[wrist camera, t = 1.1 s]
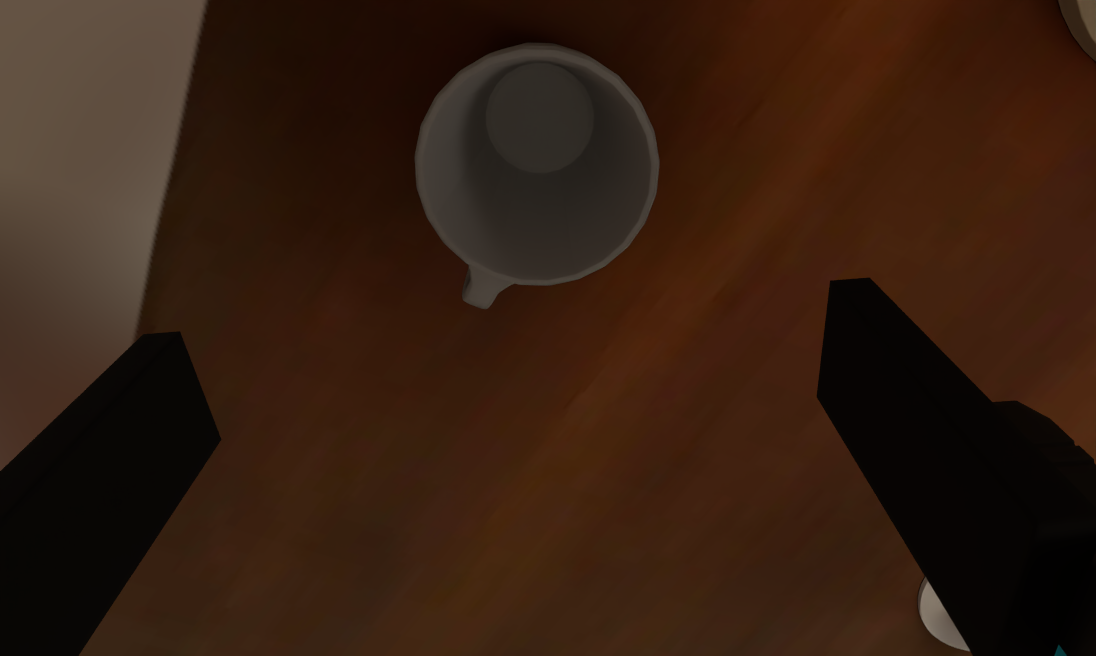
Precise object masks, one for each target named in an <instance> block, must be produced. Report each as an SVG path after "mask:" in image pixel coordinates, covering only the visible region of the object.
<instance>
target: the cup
mask: <svg viewBox="0 0 1096 656" xmlns="http://www.w3.org/2000/svg"><path fill="white" fill-rule="evenodd" d="M659 163H660V162H659V156H658V150H657V144H656V138H655V132H654V129H653V127H652V125H651V123H650V121H649V119H648V116H647V114H646V112H645V110H644V108H643V106H642V104H641V101H640V100H639V99H638V98H637V97H636V95H635V94H634V93H633V92H632V91H631V90H630V88H629V87H628V86H627V85H626V84H625V83H624V81H623V80H622V79H621V78H620V77H619V76H618V75H617V74H615V73H614V72H612V71H611V70H609V69H608V68H606V67H605V66H603V65H602V64H600V63H599V62H597V61H596V60H594V59H593V58H591V57H590V56H587V55H585V54H583V53H581V52H579V51H576V50H573V49H570V48H567V47H564V46H561V45H558V44H554V43H524V44H520V45H516V46H512V47H508V48H505V49H501V50H498V51H495V52H492V53H490V54H487V55H486V56H484V57H482V58H481V59H479V60H477V61H476V62H474V63H472V64H471V65H469V66H467V67H465V68H464V69H462V70H460V71H459V72H458V73H457V74H456V75H455V76H454V77H453V78H452V79H451V80H450V81H449V82H448V84H447V85H446V86H445V87H444V88H443V89H442V90H441V91H440V92H439V93H438V94H437V95H436V97H435V99H434V101H433V103H432V105H431V106H430V108H429V110H428V112H427V114H426V116H425V118H424V120H423V122H422V124H421V127H420V132H419V137H418V142H417V147H416V152H415V171H416V186H417V190H418V193H419V196H420V199H421V202H422V205H423V208H424V211H425V214H426V217H427V218H428V220H429V221H430V223H431V225H432V226H433V228H434V229H435V231H436V232H437V234H438V235H439V237H440V238H441V240H442V241H443V243H444V244H446V245H447V246H448V247H449V248H450V249H451V250H452V251H453V252H454V253H455V254H456V255H458V256H459V257H460V258H461V259H462V260H463V261H464V262H465V263H467V264H468V265H469V269H468V272H467V275H466V279H465V282H464V286H463V291H462V298H463V300H464V301H465V302H467V303H469V304H471V305H474V306H476V307H479V308H483V309H487V308H489V306H490V305H491V304H492V303H493V301H494V299H495V298H496V296H497V294H498V293H499V292H501V291H502V290H504V289H505V288H507V287H508V286H510V285H512V284H514V283H516V284H520V285H554V284H558V283H563V282H568V281H572V280H577V279H580V278H582V277H584V276H586V275H588V274H590V273H592V272H594V271H596V270H598V269H600V268H602V267H604V266H606V265H607V264H608V263H609V262H611V261H612V260H613V259H614V258H615V257H617V256H618V255H619V254H620V253H621V252H622V251H624V250H625V249H626V248H627V247H628V246H629V245H630V243H631V242H632V240H633V239H634V238H635V236H636V235H637V233H638V232H639V231H640V229H641V228H642V227H643V225H644V224H645V222H646V220H647V217H648V214H649V212H650V209H651V206H652V204H653V201H654V199H655V196H656V192H657V183H658V173H659Z"/></svg>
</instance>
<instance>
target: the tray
mask: <svg viewBox="0 0 1096 656" xmlns="http://www.w3.org/2000/svg"><path fill="white" fill-rule="evenodd" d="M1058 2H1059V5H1060V9H1061V12H1062V15H1063V17H1064V19H1065V21H1066V23H1067V26H1068V28H1069V30H1070V32H1071V34H1072V35H1073V37H1074V38H1075V39H1076V41H1077V42H1078V43H1079V45H1080V46H1081V47H1082V49H1083V50H1084V51H1085V52H1086V53H1087V54H1088V55H1089V56H1090V57H1091V58H1092V59H1093V60H1095V61H1096V0H1058Z"/></svg>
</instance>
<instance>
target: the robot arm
mask: <svg viewBox="0 0 1096 656" xmlns="http://www.w3.org/2000/svg"><path fill="white" fill-rule="evenodd" d="M817 398H818V400H819V401H820V403H821V405H822V406H823V408H824V410H825V411H826V413H827V415H828V416H829V418H830V420H831V421H832V423H833V425H834V426H835V428H836V430H837V431H838V433H839V435H840V436H841V438H842V440H843V441H844V443H845V445H846V446H847V448H848V449H849V451H850V453H851V454H852V456H853V458H854V459H855V461H856V463H857V464H858V466H859V468H860V469H861V471H862V473H863V474H864V476H865V478H866V479H867V481H868V483H869V484H870V486H871V488H872V489H873V491H874V492H875V494H876V496H877V497H878V499H879V501H880V502H881V504H882V506H883V507H884V509H885V511H886V512H887V514H888V516H889V517H890V519H891V521H892V522H893V524H894V526H895V527H896V529H897V531H898V532H899V534H900V536H901V537H902V539H903V540H904V542H905V544H906V545H907V547H908V549H909V550H910V552H911V554H912V555H913V557H914V559H915V560H916V562H917V564H918V565H919V567H920V569H921V570H922V572H923V574H924V575H925V577H926V579H927V580H928V582H929V583H930V585H931V587H932V588H933V590H934V592H935V593H936V595H937V597H938V598H939V600H940V602H941V603H942V605H943V607H944V608H945V610H946V612H947V613H948V615H949V617H950V618H951V620H952V622H953V623H954V625H955V627H956V628H957V630H958V631H959V633H960V635H961V636H962V638H963V640H964V641H965V643H966V645H967V646H968V648H969V650H970V651H971V653H972V655H973V656H1054V655H1055V653H1056V650H1057V648H1058V645H1059V646H1060V647H1061V648H1062V650H1063V651H1064V652H1065V654H1066V655H1067V656H1096V465H1095V463H1094V459H1093V458H1092V457H1091V456H1090V455H1089V454H1087V453H1086V452H1085V451H1084V450H1083V449H1082V448H1081V447H1080V446H1075V444H1074V440H1072V439H1071V438H1070V437H1069V436H1068V435H1067V434H1066V433H1065V432H1064V431H1063V430H1062V429H1061V428H1060V427H1059V426H1057V425H1056V424H1055V423H1054V422H1053V421H1052V420H1051V419H1050V418H1048V417H1046V416H1044V415H1042V414H1040V413H1039V412H1037V411H1035V410H1033V409H1031V408H1029V407H1027V406H1026V405H1024V404H1022V403H1020V402H1018V401H1004V402H992V401H991V400H990V399H989V398H988V397H987V396H986V395H985V394H984V393H983V392H982V391H981V390H980V389H979V388H978V387H977V386H976V385H975V384H974V383H973V382H972V381H971V380H970V379H969V378H968V377H967V376H966V375H965V374H964V373H963V372H962V371H961V370H960V369H959V368H958V367H957V366H956V365H955V364H954V363H953V362H952V361H951V360H950V359H949V358H948V357H947V356H946V355H945V354H944V353H943V352H942V351H941V350H940V349H939V348H938V347H937V346H936V345H935V344H934V343H933V342H932V341H931V340H930V339H929V337H928V336H927V335H926V334H925V333H924V332H923V331H922V330H921V329H920V328H919V327H918V326H917V325H916V324H915V323H914V322H913V321H912V320H911V319H910V318H909V317H908V316H907V315H906V314H905V313H904V312H903V311H902V310H901V309H900V308H899V307H898V306H897V305H896V304H895V303H894V302H893V301H892V300H891V299H890V298H889V297H888V296H887V295H886V294H885V293H884V292H883V291H882V290H881V289H880V288H879V287H878V286H877V285H876V284H875V283H874V282H873V281H872V280H871V279H870V278H859V279H846V280H834V281H830V287H829V296H828V304H827V313H826V321H825V330H824V338H823V347H822V356H821V364H820V373H819V381H818V390H817ZM220 441H221V437H220V435H219V432H218V430H217V427H216V424H215V422H214V419H213V417H212V414H211V411H210V409H209V406H208V404H207V401H206V398H205V396H204V393H203V391H202V388H201V385H200V383H199V380H198V378H197V375H196V372H195V370H194V367H193V364H192V362H191V359H190V357H189V354H188V351H187V349H186V346H185V344H184V341H183V338H182V336H181V333H180V332H167V333H155V334H143V335H142V336H141V337H140V338H139V339H138V340H137V341H136V342H135V343H134V344H133V345H132V346H131V347H130V348H129V349H128V350H126V351H125V352H124V353H123V354H122V355H121V356H120V357H119V358H118V359H117V360H116V361H115V362H114V363H113V364H112V365H111V366H110V367H109V368H108V369H107V370H106V371H105V372H104V373H102V374H101V375H100V376H99V377H98V378H97V379H96V380H95V381H94V382H93V383H92V384H91V385H90V386H89V387H88V388H87V389H86V390H85V391H84V392H83V393H82V394H81V395H80V396H78V398H77V399H75V400H74V401H73V402H72V403H71V404H70V405H69V406H68V407H67V408H66V409H65V410H64V411H63V412H62V413H61V414H60V415H59V416H58V417H57V418H56V419H54V420H53V422H51V423H50V424H49V425H48V426H47V427H46V428H45V429H44V430H43V431H42V432H41V433H40V434H39V435H38V436H37V437H36V438H35V439H34V440H33V441H32V442H30V443H29V445H27V446H26V447H25V448H24V449H23V450H22V451H21V452H20V453H19V454H18V455H17V456H16V457H15V458H14V459H13V460H12V461H11V462H10V463H9V464H8V465H6V466H5V467H4V468H3V469H2V470H1V471H0V656H79V654H80V653H81V651H82V650H83V648H84V646H85V645H86V643H87V642H88V640H89V639H90V637H91V636H92V634H93V633H94V631H95V630H96V628H97V627H98V625H99V624H100V622H101V621H102V619H103V618H104V616H105V615H106V613H107V612H108V610H109V609H110V607H111V606H112V604H113V603H114V601H115V600H116V598H117V597H118V595H119V594H120V592H121V591H122V589H123V588H124V586H125V584H126V583H127V581H128V580H129V578H130V577H131V575H132V574H133V572H134V571H135V569H136V568H137V566H138V565H139V563H140V562H141V560H142V559H143V557H144V556H145V554H146V553H147V551H148V550H149V548H150V547H151V545H152V544H153V542H154V541H155V539H156V538H157V536H158V535H159V533H160V532H161V530H162V529H163V527H164V525H165V524H166V522H167V521H168V519H169V518H170V516H171V515H172V513H173V512H174V510H175V509H176V507H177V506H178V504H179V503H180V501H181V500H182V498H183V497H184V495H185V494H186V492H187V491H188V489H189V488H190V486H191V485H192V483H193V482H194V480H195V479H196V477H197V476H198V474H199V473H200V471H201V470H202V468H203V467H204V465H205V463H206V462H207V460H208V459H209V457H210V456H211V454H212V453H213V451H214V450H215V448H216V447H217V445H218V444H219V442H220Z"/></svg>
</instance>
